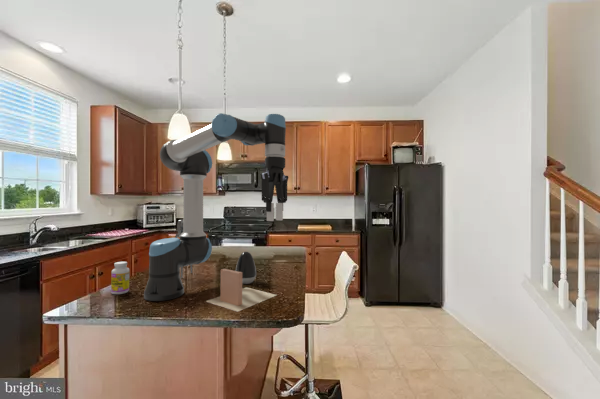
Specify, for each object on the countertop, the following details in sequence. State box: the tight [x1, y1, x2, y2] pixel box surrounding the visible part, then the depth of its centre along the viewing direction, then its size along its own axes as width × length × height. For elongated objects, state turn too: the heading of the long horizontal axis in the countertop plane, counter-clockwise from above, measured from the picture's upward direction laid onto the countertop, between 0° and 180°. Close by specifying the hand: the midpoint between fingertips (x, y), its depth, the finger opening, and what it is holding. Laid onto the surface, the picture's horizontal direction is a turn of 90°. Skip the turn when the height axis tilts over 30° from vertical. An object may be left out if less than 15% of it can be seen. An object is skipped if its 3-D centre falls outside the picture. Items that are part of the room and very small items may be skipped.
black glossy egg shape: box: [235, 251, 257, 285], centre depth 137 cm, size 10×10×15 cm
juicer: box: [174, 219, 193, 279], centre depth 149 cm, size 10×11×30 cm
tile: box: [219, 268, 243, 306], centre depth 108 cm, size 2×10×12 cm, turn 55°
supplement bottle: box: [110, 261, 130, 295], centre depth 122 cm, size 7×7×13 cm
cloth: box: [205, 287, 277, 313], centre depth 113 cm, size 22×18×1 cm
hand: (274, 220), depth 103 cm, fingers open, 4 cm apart
